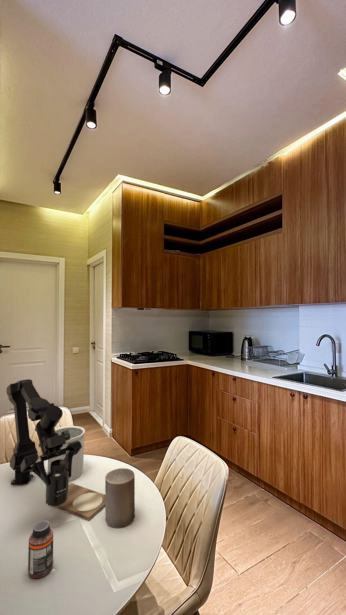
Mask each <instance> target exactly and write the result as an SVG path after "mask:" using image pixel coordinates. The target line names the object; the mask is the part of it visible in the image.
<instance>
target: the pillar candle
mask: <svg viewBox="0 0 346 615" xmlns="http://www.w3.org/2000/svg"><path fill="white" fill-rule="evenodd" d="M135 475H136V474H135V472H134V471H133V470H131V469H130V468H127V467H126V468H125V467H123V468H122V467H120V468H115V469H113V470H109V471H108V472H107V473H106V474H105V477H104V478H105V480H104V481H105V483H104V484H105V485H104V488H105V507H104V508H105V509H104V510H105V512H104V514H105V517H104V520H105V523H106V525H108V526H109V527H110V528H114V529H120V528H124V527H127V526H128V525H131V524H132V523H133V522H134V521H135V517H136V513H135V510H136V509H135V506H136V505H135V501H136V500H135V494H136V493H135V492H136V491H135V490H136V488H135V486H136V484H135V483H136V481H135V480H136V479H135Z"/></svg>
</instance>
